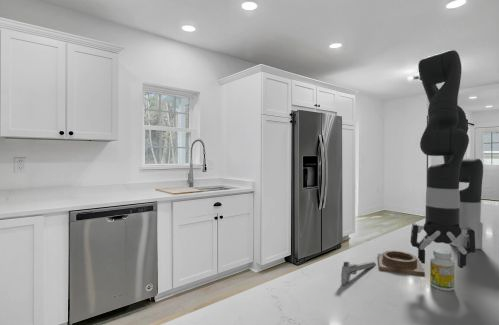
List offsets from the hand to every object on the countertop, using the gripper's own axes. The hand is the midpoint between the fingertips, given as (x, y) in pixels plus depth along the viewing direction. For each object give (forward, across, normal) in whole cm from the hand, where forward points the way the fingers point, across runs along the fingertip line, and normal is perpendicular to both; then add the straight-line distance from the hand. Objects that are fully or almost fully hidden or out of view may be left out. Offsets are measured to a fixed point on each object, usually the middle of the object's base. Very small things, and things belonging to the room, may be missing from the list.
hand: (440, 264), depth 77 cm
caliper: (+7, +20, -1) cm, 21 cm away
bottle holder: (+6, +9, -12) cm, 16 cm away
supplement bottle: (+6, 0, 0) cm, 6 cm away
